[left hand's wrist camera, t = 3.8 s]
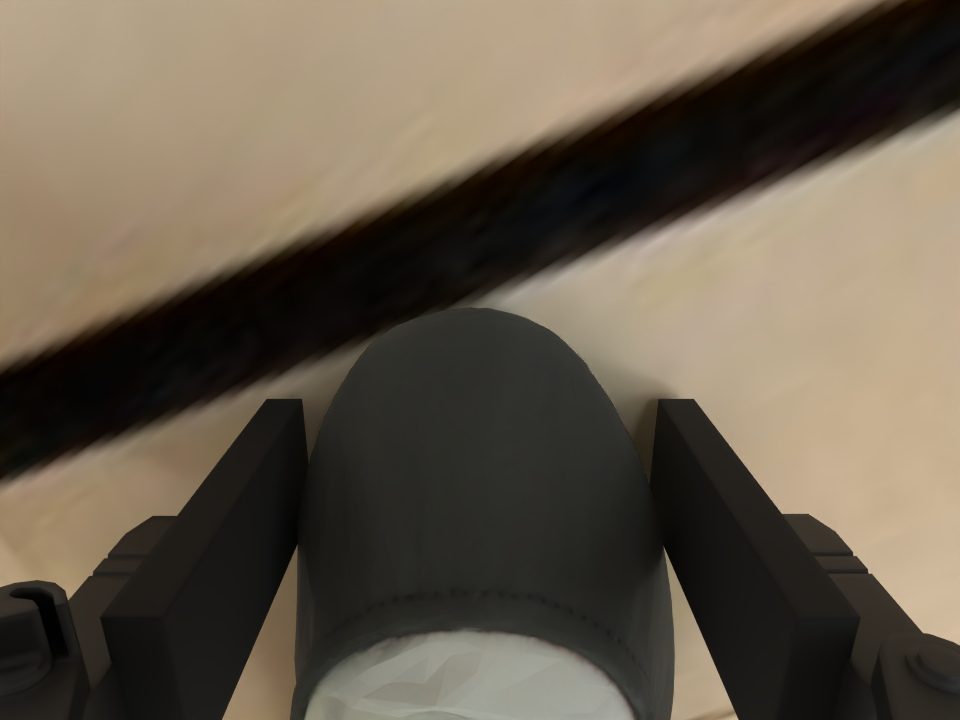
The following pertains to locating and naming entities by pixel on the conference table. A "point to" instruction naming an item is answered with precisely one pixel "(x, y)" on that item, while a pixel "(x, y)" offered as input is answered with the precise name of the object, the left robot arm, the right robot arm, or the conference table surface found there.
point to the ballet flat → (478, 538)
